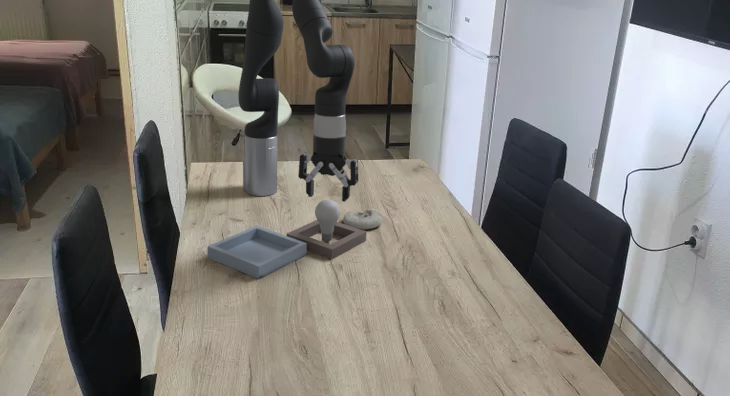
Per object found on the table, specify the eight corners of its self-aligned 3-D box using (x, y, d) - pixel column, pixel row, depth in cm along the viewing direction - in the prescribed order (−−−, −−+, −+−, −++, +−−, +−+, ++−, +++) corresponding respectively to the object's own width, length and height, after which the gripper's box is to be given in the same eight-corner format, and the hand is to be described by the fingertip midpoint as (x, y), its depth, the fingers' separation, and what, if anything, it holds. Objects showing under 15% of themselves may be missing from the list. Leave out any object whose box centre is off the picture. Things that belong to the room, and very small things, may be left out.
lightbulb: (335, 248, 157) (337, 206, 153) (311, 245, 158) (312, 203, 155) (341, 238, 163) (343, 197, 159) (318, 235, 164) (319, 194, 160)
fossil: (363, 200, 179) (392, 213, 174) (360, 212, 180) (389, 225, 175) (337, 210, 170) (367, 224, 165) (335, 223, 172) (364, 237, 167)
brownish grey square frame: (286, 243, 159) (286, 233, 158) (322, 226, 170) (322, 217, 169) (331, 259, 152) (332, 249, 151) (366, 240, 162) (366, 231, 162)
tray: (207, 258, 149) (207, 246, 148) (256, 236, 161) (256, 225, 160) (259, 279, 141) (259, 266, 140) (306, 254, 153) (306, 243, 152)
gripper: (294, 133, 149) (294, 199, 155) (354, 139, 146) (351, 207, 151) (306, 126, 156) (305, 189, 161) (363, 132, 153) (360, 197, 158)
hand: (327, 198), depth 156 cm, fingers open, 8 cm apart
